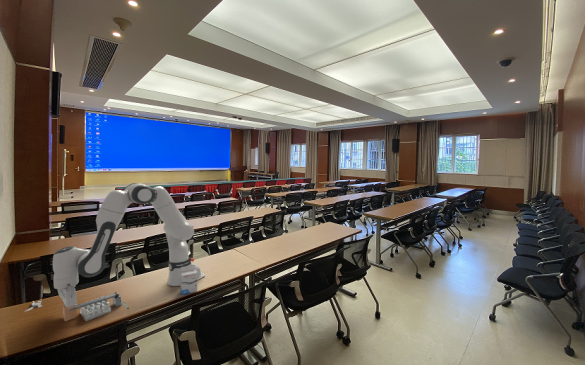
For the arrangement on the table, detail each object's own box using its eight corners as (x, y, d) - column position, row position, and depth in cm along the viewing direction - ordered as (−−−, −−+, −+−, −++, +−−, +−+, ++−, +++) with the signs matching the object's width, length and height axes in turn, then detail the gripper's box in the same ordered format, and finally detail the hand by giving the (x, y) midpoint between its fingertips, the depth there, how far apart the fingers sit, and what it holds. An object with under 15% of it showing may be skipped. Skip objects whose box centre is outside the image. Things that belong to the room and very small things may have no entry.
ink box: (182, 295, 142) (181, 270, 141) (180, 291, 146) (180, 267, 145) (197, 291, 147) (197, 267, 146) (195, 287, 151) (195, 264, 150)
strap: (116, 294, 131) (116, 291, 131) (119, 296, 129) (119, 294, 129) (68, 309, 116) (68, 306, 116) (70, 311, 114) (70, 309, 114)
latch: (74, 315, 121) (74, 300, 120) (77, 319, 117) (77, 304, 116) (63, 319, 118) (62, 303, 117) (66, 324, 114) (65, 308, 113)
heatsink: (116, 300, 134) (116, 291, 134) (123, 307, 128) (122, 298, 128) (80, 313, 122) (79, 303, 122) (85, 321, 116) (85, 311, 116)
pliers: (17, 317, 118) (23, 303, 130) (18, 320, 118) (23, 306, 130) (47, 309, 125) (49, 297, 136) (47, 312, 125) (49, 300, 136)
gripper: (80, 285, 116) (81, 314, 117) (70, 273, 128) (71, 299, 129) (62, 290, 111) (63, 320, 112) (53, 277, 123) (55, 304, 124)
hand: (68, 309), depth 121 cm, fingers closed
